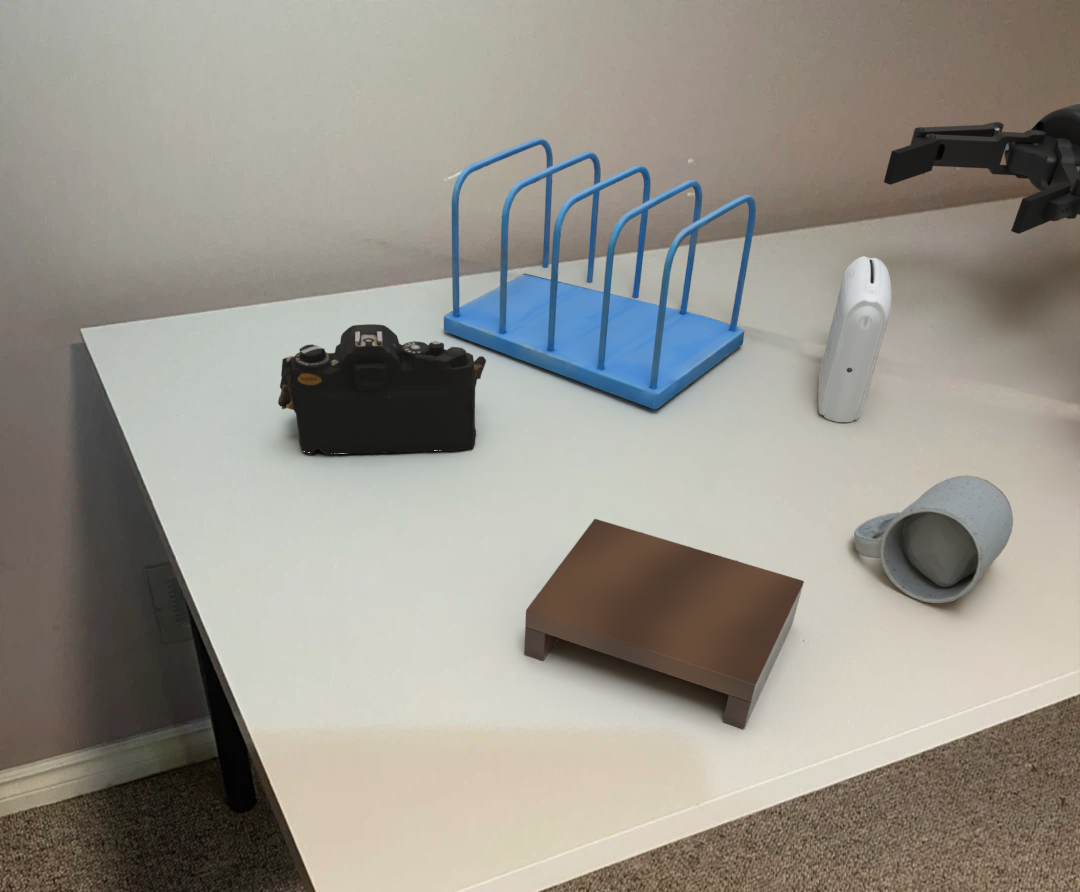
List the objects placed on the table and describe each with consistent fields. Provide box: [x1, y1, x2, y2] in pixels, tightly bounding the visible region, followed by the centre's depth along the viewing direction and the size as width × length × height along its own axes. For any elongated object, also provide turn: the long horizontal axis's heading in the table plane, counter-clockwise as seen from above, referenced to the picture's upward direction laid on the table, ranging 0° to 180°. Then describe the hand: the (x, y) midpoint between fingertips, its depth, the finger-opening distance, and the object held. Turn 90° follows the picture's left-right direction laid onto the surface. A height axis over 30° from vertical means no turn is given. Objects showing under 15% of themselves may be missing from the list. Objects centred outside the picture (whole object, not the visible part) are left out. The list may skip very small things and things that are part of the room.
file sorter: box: [443, 137, 757, 410], centre depth 103 cm, size 25×17×15 cm
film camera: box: [277, 323, 487, 455], centre depth 91 cm, size 18×12×10 cm
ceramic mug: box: [853, 475, 1014, 604], centre depth 81 cm, size 11×8×8 cm
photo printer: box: [817, 255, 892, 423], centre depth 98 cm, size 10×4×12 cm, turn 168°
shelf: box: [523, 518, 805, 730], centre depth 75 cm, size 16×12×4 cm
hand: (953, 191), depth 95 cm, fingers open, 13 cm apart
